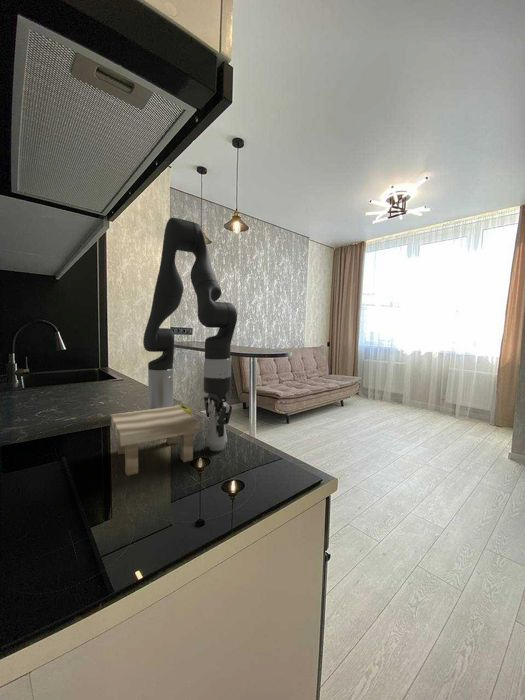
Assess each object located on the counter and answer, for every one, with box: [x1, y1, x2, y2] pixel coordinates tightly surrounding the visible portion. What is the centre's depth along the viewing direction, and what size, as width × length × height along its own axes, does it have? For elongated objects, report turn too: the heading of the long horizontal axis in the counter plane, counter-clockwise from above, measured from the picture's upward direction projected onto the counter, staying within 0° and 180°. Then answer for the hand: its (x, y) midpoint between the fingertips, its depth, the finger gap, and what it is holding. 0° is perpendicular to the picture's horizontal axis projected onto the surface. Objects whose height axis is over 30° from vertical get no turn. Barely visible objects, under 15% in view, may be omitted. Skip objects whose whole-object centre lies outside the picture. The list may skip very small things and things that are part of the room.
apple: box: [173, 400, 193, 417], centre depth 96 cm, size 8×8×10 cm
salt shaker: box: [206, 403, 228, 452], centre depth 81 cm, size 6×6×13 cm
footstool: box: [110, 405, 201, 476], centre depth 76 cm, size 18×18×10 cm
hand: (216, 435), depth 81 cm, fingers closed on salt shaker, 3 cm apart
